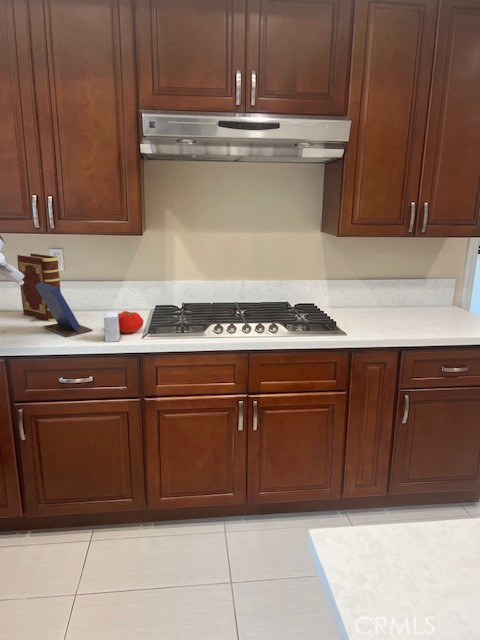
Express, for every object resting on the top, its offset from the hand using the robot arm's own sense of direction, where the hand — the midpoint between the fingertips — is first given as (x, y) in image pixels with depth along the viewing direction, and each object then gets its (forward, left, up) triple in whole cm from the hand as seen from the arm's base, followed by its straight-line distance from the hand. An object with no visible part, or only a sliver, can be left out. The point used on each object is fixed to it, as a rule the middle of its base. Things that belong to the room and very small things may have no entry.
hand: (21, 283), depth 186 cm
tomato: (+21, -35, -24) cm, 48 cm away
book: (+17, -9, -22) cm, 29 cm away
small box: (+9, -33, -24) cm, 42 cm away
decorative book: (+33, +15, -24) cm, 43 cm away
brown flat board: (+16, -8, -24) cm, 30 cm away
